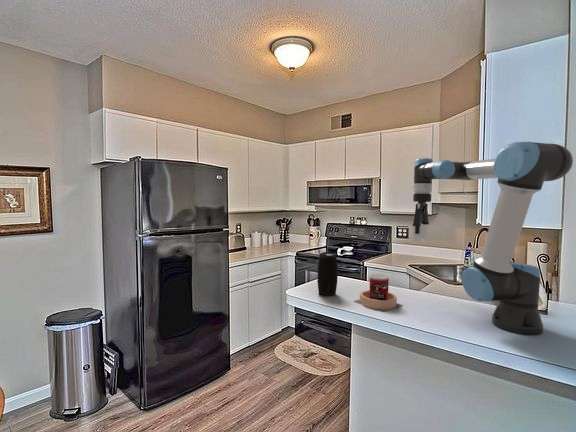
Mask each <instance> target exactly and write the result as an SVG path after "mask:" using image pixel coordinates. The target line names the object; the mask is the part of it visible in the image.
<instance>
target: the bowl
mask: <svg viewBox="0 0 576 432" xmlns="http://www.w3.org/2000/svg"><path fill="white" fill-rule="evenodd" d="M369 292H370V289H368V290H363V291H361V292H360V293H359V300H360V303H361V304H362V305H361V304H360V305H361V306H364V307H366V308H370V309H374V310H376V309H380V310H382V309H392V308H395V309H397V308H396V305H397V303H398V296H397V295H396V294H395V293H393V292H389V291H388V300H375V299H370V298H369ZM392 310H393V309H392Z"/></svg>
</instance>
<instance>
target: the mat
mask: <svg viewBox="0 0 576 432" xmlns="http://www.w3.org/2000/svg"><path fill="white" fill-rule="evenodd" d="M352 302H353V303H356V304H359V305H361V306H363V305H362V304H361V303H360V299H357V300H353V301H352ZM400 307H401V308H402V307H404V305H403V304H401V303H398V302H397V305H396V308H392V309H382V310H380V309H375V310H377V311H379V312H381V313H385V312H388V311H392V310H394V309H397V308H400Z"/></svg>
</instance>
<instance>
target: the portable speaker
mask: <svg viewBox="0 0 576 432" xmlns="http://www.w3.org/2000/svg"><path fill="white" fill-rule="evenodd" d="M318 255H319V256H318V262H317V281H316V282H317V289H318V291H317V292H318V295H322V297H328V298H329V297H330V298H331V297H333V296H334V295H336V293H337V287H338V274H339V273H338V271H339V270H338V268H339V266H338V258H337V256H338V255H337V253H332V252H330V251H323V252H320V254H318Z"/></svg>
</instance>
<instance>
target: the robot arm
mask: <svg viewBox="0 0 576 432" xmlns="http://www.w3.org/2000/svg"><path fill="white" fill-rule="evenodd" d="M573 158H574V157H573V155H572V153H571V151H570V150H569V149H568V148H566V147H565V146H563V145H561V144H557V143H548V142H547V143H545V142H535V141H534V142H533V141H526V140H525V141H524V140H523V141H515V142H512V143H509V144H507V145H506V146H504V147H503V148H501V150H500V151H498V153H497V154H496V156H495V158H490V159H482V160H481V159H480V160H472V161H471V160H470V161H461V162H460V161H451V160H448V159H445V160H443V159H441V160H438V161H433V158H429V157H428V158H427V157H425V158H424V157H422V158H417V159H415V161H414V167H413V169H414V170H413V173H414V174H413V185H412V189H413V192H414V193H413V194H412V195H413V197H412V198H413V199H412V201H413V203H415V202H416V203H415V212H414V217H413V223H412V227H414V228H413V229H414V231H413V242H418V243H420V242H421V240H422V239H427V237H428V225H430V222H429V213H428V212H429V211H428V206H429V204H428V203H431V202H432V193H433V192H432V187H433V180H457V181H458V180H459V181H460V180H461V181H473V180H474V181H475V180H483V179H484V180H485V179H486V180H487V179H497V184H498V186H499V187H500V191H499V195H498V196H497V197H498V198H497V200H496V205H495V208H494V211H493V215H492V216H491V221H490V224H489V228H488V231H487V235H486V238H485V242H484V244H483V248H482V251H481V254H480V255H479V256H478V255H477V256H476V257H474V260H473V264H472V266H469V267H466V268H465V269H464V270H463V271H462V274H461V284H462V287H463V289H464V291H465V293H466V294H467V295H468V296H469V298H471V299H472V300H474V301H477V302H487V303H488V302H489V301H497V300H499V302H498V305H497V306H496V307H495V309H494V311H493V314H492V315H491V316H492V317H491V322H492V325H494V326H495V327H497V328H499V329H502V330H503V331H507V332H511V333H515V334H520V335H525V336H526V335H527V336H528V335H530V336H537V335H541V334H543V333H544V323H543V320H542V317H541V314H540V310H539V299H540V288H541V287H540V285H541V280H542V279H541V278H542V277H541V270H540V268H539V267H537V266H535V265H533V264H527V263H522V262H515V261H512V260H513V256H514V254H515V250H516V247H517V243H518V241H519V238H520V236H521V235H520V234H521V232H522V229H523V226H524V223H525V220H526V217H527V214H528V211H529V208H530V205H531V202H532V199H533V196H534V195H535V194H536V193H538V192H540V191H542V188H543V185H544V182H553V181H556V180H559V179H562V178H563V177H565V176H566V175H567V174H568V173H569V172H570V171H571V169H572V167H573V163H574V162H573V161H574V159H573Z"/></svg>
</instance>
